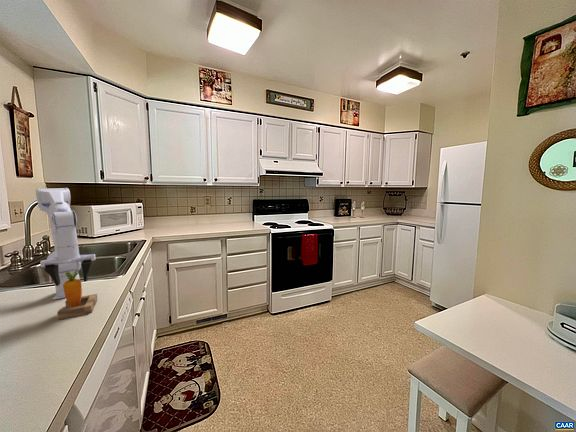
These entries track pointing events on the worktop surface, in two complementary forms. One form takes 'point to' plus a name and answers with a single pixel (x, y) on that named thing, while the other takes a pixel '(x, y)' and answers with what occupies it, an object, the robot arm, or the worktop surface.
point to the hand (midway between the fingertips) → (72, 282)
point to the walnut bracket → (79, 307)
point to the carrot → (72, 289)
